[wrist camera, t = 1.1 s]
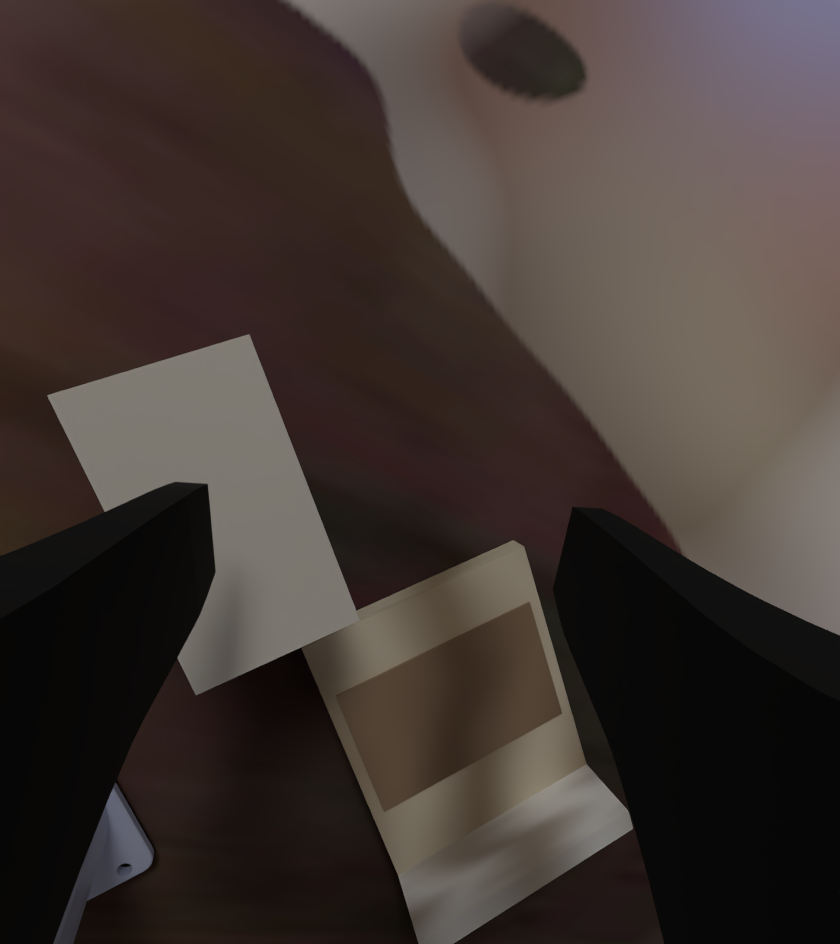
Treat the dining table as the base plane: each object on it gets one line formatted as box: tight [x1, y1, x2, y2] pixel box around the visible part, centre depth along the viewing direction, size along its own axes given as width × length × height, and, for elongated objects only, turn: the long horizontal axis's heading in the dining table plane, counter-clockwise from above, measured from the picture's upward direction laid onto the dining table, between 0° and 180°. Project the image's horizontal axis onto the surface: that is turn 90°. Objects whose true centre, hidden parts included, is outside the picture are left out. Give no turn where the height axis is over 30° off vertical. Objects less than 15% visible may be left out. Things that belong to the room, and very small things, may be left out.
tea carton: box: [47, 335, 360, 695], centre depth 16 cm, size 5×8×7 cm, turn 19°
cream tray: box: [301, 540, 633, 944], centre depth 22 cm, size 10×13×4 cm
